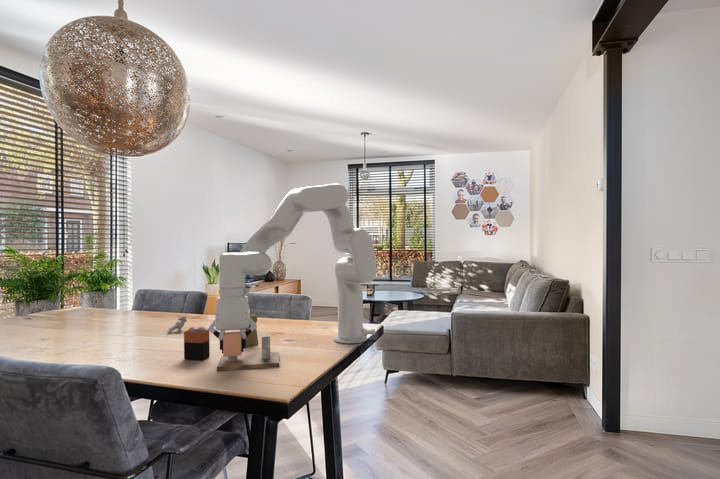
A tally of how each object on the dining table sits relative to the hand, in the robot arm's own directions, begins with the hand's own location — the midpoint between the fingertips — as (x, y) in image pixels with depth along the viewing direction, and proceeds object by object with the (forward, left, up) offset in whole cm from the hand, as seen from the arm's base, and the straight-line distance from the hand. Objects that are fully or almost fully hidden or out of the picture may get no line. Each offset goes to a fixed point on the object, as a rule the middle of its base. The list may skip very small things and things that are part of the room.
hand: (232, 350), depth 127 cm
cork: (-4, -23, -4) cm, 24 cm away
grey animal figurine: (+26, -52, -4) cm, 58 cm away
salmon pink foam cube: (0, 0, -1) cm, 1 cm away
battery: (+12, -9, -4) cm, 16 cm away
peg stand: (-5, 0, -4) cm, 6 cm away
